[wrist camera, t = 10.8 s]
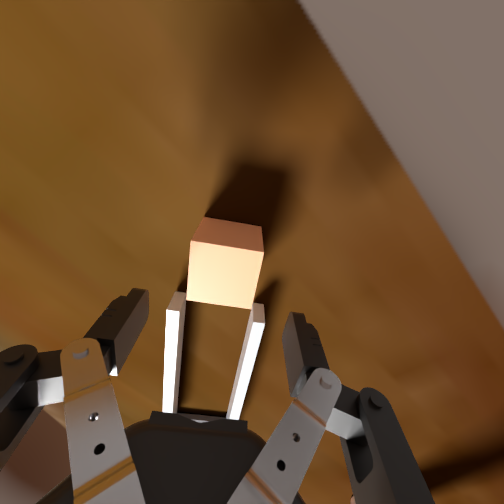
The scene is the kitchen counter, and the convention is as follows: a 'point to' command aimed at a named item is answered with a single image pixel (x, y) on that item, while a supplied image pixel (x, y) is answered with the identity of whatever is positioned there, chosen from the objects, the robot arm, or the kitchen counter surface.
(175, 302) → the channel
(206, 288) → the block
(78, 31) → the kitchen counter surface
